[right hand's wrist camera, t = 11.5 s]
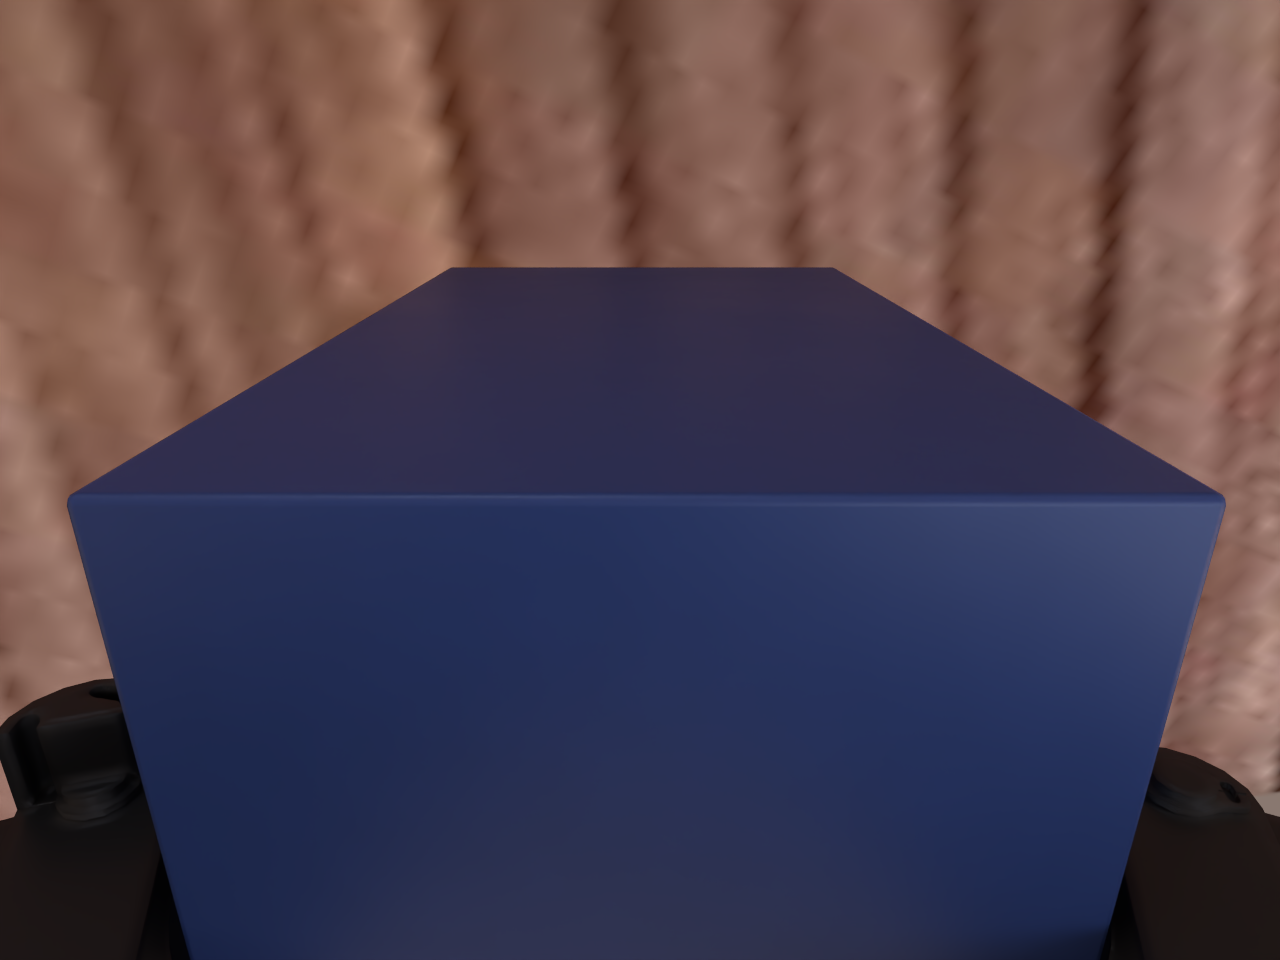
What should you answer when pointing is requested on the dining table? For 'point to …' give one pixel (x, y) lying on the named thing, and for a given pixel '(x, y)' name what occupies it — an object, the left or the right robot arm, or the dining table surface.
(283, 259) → the dining table surface
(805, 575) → the brick
